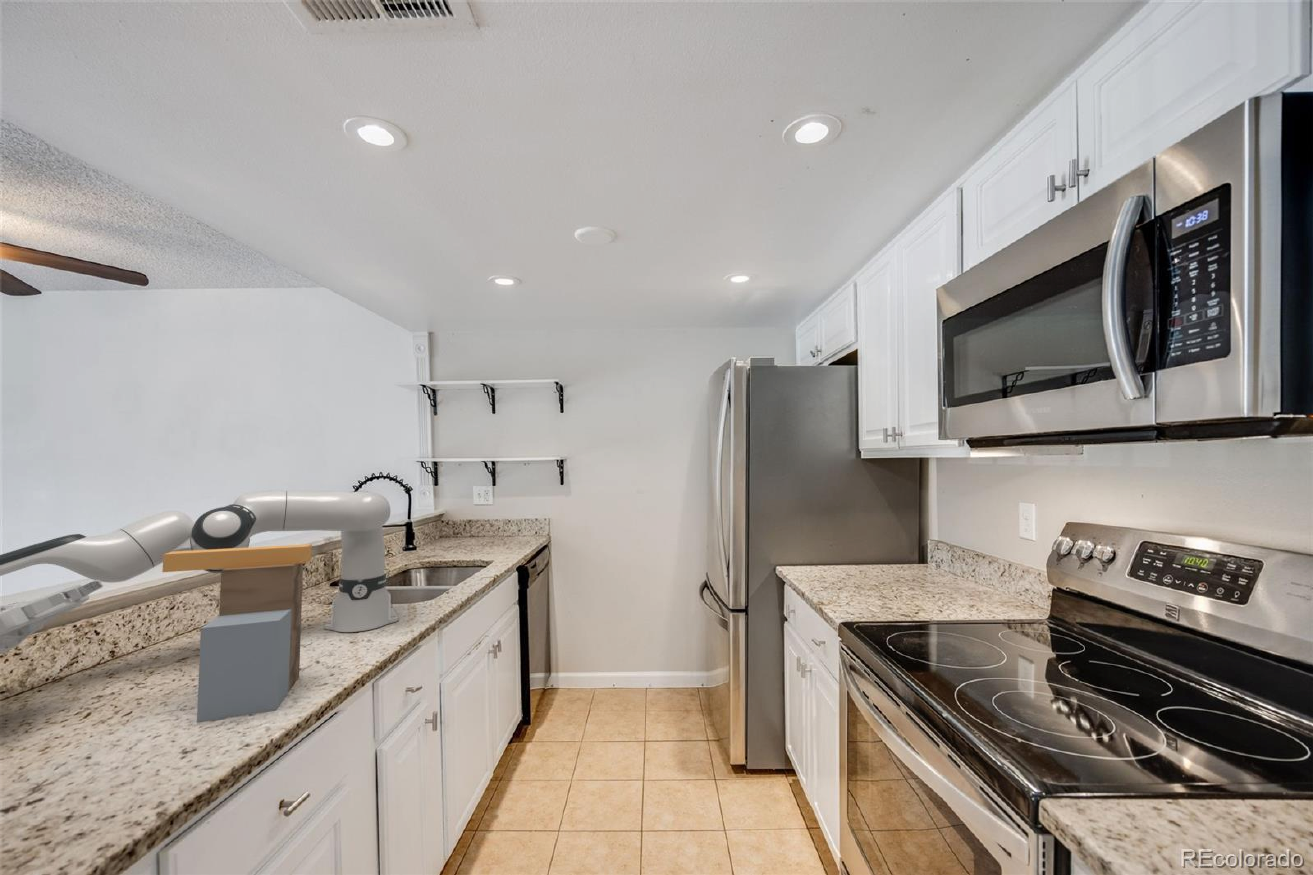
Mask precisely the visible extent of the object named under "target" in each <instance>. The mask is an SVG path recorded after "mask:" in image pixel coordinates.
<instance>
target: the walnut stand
mask: <svg viewBox="0 0 1313 875" xmlns="http://www.w3.org/2000/svg"><path fill="white" fill-rule="evenodd" d="M303 572H304V563H299V564H284V565H268V566H253V567H237V568H225V569H223V570H221V573H220V588H219V589H220V590H219V591H220V592H219V613H218V616H224V615H235V614H246V613H257V612H267V611H278V610H289V609H291V633H290V662H289V691H288V693H290V691H291V690H292V688H293V687H294V685H295V684H296V683H297V681H298V680H299V679H300V667H301V666H300V663H301V639H302V638H301V636H302V635H301V634H302V633H301V632H302V604H303V601H302V600H303V575H304V574H303Z"/></svg>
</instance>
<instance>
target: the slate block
mask: <svg viewBox="0 0 1313 875" xmlns="http://www.w3.org/2000/svg"><path fill="white" fill-rule="evenodd" d="M290 633H291V609H289V610H278V611H267V612H257V613H246V614H235V615H224V616H219V615H218V616H216V618H213V619H212V620H211V621H209V622H208V623H207V624H205V625H203V626H202V627H200V639H199V660H198V662H199V663H198V684H197V685H198V686H197V687H198V688H197V703H196V704H197V707H196V710H197V711H196V723H202V722H208V721H215V720H221V719H227V718H233V717H240V716H246V715H252V714H260V713H261V714H262V713H266V712H273V711H277V709H278V708H279V707H280V706H281V704H282V703H283V701H284V700H285V698H286V697H287V695H288V694H289V692H290V691H289V662H290ZM288 691H289V692H288Z"/></svg>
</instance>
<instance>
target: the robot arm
mask: <svg viewBox="0 0 1313 875" xmlns="http://www.w3.org/2000/svg"><path fill="white" fill-rule="evenodd" d="M390 516H391V506H390V503H389V501H388V499H387V498H386V497H384V496H383V495H381V494H380V493H377V492H372V491H368V490H358V491H332V490H331V491H329V490H327V491H326V490H266V491H265V490H264V491H256V492H255V491H254V492H249V493H243V494H241V495H239V496H238V497H237V498H236V499H235V501H233V504H232V503H231V504H228V505H226V506H222V507H217V508H213V509H210V510H209V511H206V512H204V513H203V514H202V515H200V516H199V517H198V518H197V519H196V521H195V520H193V519H192V518H191V517H190V516H189V515H187V514H185V513H183V512H180V511H176V510H168V511H164V512H161V513H157V514H154V515H151V516H148V517H146V518H143V519H140V520H138V521H135V522H133V523H131V524H128V525H125V526H123V527H122V528H119V529H117V530H115V531H112V532H110V533H106V534H102V535H96V536H86V535H84V534H80V533H74V534H69V535H64V536H59V537H56V538H52V539H49V540H45V541H42V542H39V543H34V544H31V545H28V546H25V547H22V548H18V549H15V550H11V551H9V552H6V553H5V552H4V553H3V554H0V577H1V576H5V575H7V574H11V573H13V572H16V571H19V570H23V569H26V568H29V567H32V566H36V565H45V564H46V565H47V564H48V565H55V566H59V567H62V568H64V569H67V570H69V571H72V572H74V573H76V574H78V575H81V576H83V577H86V578H87V579H90V580H93V581H90V582H89V583H86V584H84V585H80V584H77V585H73V586H72V585H71V586H70V587H66V588H64V589H61V590H58V591H55V592H52V593H50V594H47V595H44V596H40V597H38V598H34V599H32V600H28V601H26V600H22V601H17V602H13V603H10V604H9V603H8V604H1V605H0V655H1V654H4V653H6V652H8V651H10V650H12V649H15V648H17V647H18V646H19V645H20V644H21V643H22V642H23V641H25V640H26V639H27V638H28V637H30V636H31V635H32V634H35V633H37V632H38V631H40V630H43V629H44V625H46V624H48V623H49V622H51V621H53V620H55V619H57V618H60V616H62V615H64V614H67V613H68V612H70V611H71V610H73V609H75V608H78V606H81V605H83V604H84V603H85V602H87V601H88V600H89V599H90V596H89V595H91V594H92V593H93V592H95V591H98V590H99V589H102V588H103V586H104V584H103V583H112V584H113V583H123V582H127V581H128V580H131V579H133V578H135V577H137V576H141V575H142V574H144V573H146V572H148V571H150V570H151V569H154V568H155V567H157V566H159V565H161V564H163V554H166V553H169V552H173V551H192V550H210V549H229V548H248V547H249V546H250V542H251V537H253V536H255V535H257V534H260V533H266V532H302V531H303V532H305V531H306V532H309V531H329V532H330V531H331V532H340V537H341V538H340V539H341V540H340V541H341V572H340V574H341V577H340V578H339V582H338V592H339V593H338V594H337V595H336V596H335V597H333V599H332V604H331V605H332V606H331V617H330V621H328V622H327V623H325V624H324V626H323V629H324V630H329V631H330V630H331V631H335V632H339V633H354V632H363V631H364V632H365V631H368V630H375V629H377V628H378V629H379V628H381V627H384V626H386V625H388V624H392V623H396V622H398V621H399V618H398V615H397V613H396V610H395V609H394V607H393V604H392V603H391V600H392V599H391V596H392V595H391V593H390V592H389V591H388V590H387V588H386V586H387V574H386V573H385V570H386V569H385V567H386V562H385V561H386V545H385V544H386V543H385V538H384V532H383V526H384V525H385V524H387V522H388V521H389V519H390ZM223 569H225V568H222V569H206V570H204V571H205V572H208V573H212V574H221V570H223ZM102 582H103V583H102Z"/></svg>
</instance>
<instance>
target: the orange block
mask: <svg viewBox="0 0 1313 875" xmlns="http://www.w3.org/2000/svg"><path fill="white" fill-rule="evenodd" d="M312 546H313V544H312V543H310V544H309V543H308V544H292V545H291V544H290V545H289V544H288V545H269V546H252V547H251V546H250V547H248V548H229V549H210V550H192V551H173V552H169V553H166V554H163V563H162V573H173V572H188V571H205V570H206V569H222V568H237V567H253V566H268V565H284V564H299V563H303V564H308V563H309V562H310V561H312V552H313V551H312V548H313V547H312Z"/></svg>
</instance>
